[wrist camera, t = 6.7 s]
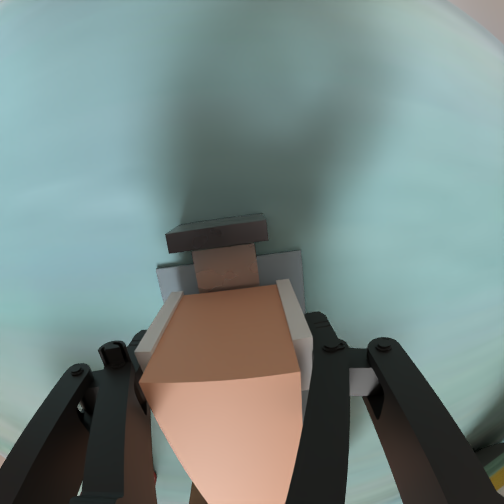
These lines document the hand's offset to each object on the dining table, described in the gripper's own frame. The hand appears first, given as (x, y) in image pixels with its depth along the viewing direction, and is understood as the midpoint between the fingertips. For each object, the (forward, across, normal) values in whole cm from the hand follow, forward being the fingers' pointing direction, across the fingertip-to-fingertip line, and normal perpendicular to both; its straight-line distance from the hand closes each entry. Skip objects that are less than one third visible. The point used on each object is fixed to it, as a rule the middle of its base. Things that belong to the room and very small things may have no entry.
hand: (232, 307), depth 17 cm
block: (0, 0, -7) cm, 7 cm away
